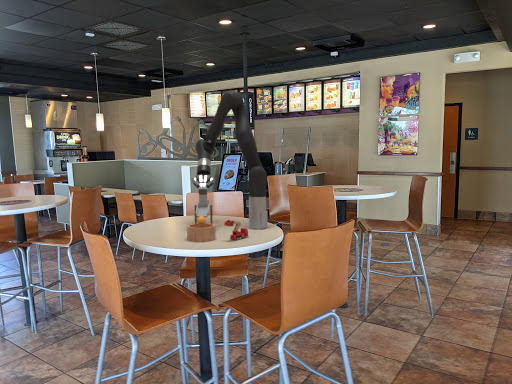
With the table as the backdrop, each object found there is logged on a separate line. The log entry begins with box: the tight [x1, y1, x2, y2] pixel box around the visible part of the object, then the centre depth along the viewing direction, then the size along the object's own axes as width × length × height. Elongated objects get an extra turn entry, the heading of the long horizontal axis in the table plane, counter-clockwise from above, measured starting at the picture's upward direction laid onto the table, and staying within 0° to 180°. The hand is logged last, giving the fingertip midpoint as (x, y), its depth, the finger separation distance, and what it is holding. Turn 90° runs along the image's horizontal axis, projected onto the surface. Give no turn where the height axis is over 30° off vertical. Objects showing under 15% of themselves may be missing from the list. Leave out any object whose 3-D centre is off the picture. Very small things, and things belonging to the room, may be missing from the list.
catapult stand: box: [193, 204, 214, 224], centre depth 198 cm, size 14×12×14 cm
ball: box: [197, 216, 207, 225], centre depth 183 cm, size 4×4×4 cm
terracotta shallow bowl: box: [186, 222, 217, 243], centre depth 182 cm, size 13×13×6 cm
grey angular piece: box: [196, 187, 210, 219], centre depth 194 cm, size 18×6×13 cm, turn 4°
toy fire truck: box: [224, 219, 249, 241], centre depth 181 cm, size 3×14×10 cm, turn 141°
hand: (202, 193), depth 196 cm, fingers closed
